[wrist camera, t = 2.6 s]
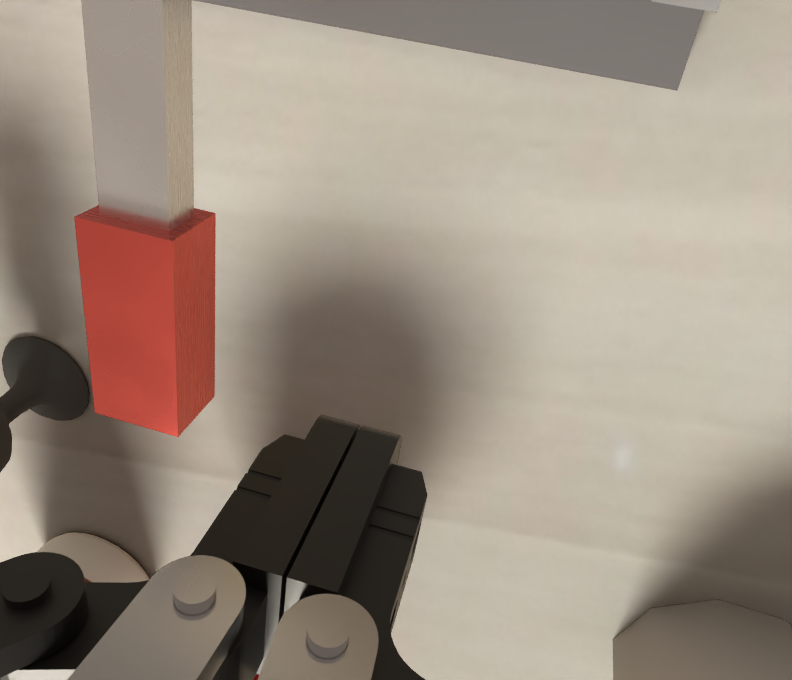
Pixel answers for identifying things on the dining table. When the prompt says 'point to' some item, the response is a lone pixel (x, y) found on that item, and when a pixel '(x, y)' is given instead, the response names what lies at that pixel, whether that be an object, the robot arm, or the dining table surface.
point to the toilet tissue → (704, 644)
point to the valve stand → (526, 30)
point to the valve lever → (146, 220)
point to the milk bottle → (97, 558)
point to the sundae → (39, 386)
